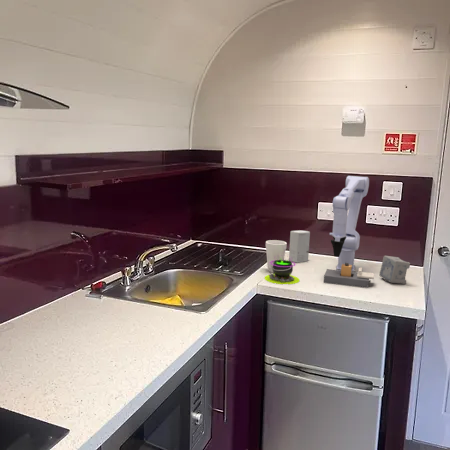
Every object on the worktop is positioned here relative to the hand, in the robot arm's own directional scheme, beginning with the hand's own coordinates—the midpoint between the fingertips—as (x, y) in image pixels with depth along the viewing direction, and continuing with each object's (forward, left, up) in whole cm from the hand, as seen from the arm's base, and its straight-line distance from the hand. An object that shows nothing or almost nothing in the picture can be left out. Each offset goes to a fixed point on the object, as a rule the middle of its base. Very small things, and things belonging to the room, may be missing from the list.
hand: (337, 254), depth 205 cm
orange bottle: (+6, +5, -10) cm, 13 cm away
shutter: (+6, +13, -7) cm, 15 cm away
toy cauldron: (+14, -21, -10) cm, 27 cm away
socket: (+6, +5, -10) cm, 13 cm away
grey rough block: (-3, +24, -10) cm, 26 cm away
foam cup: (+2, -27, -10) cm, 29 cm away
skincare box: (-20, -20, -10) cm, 30 cm away
